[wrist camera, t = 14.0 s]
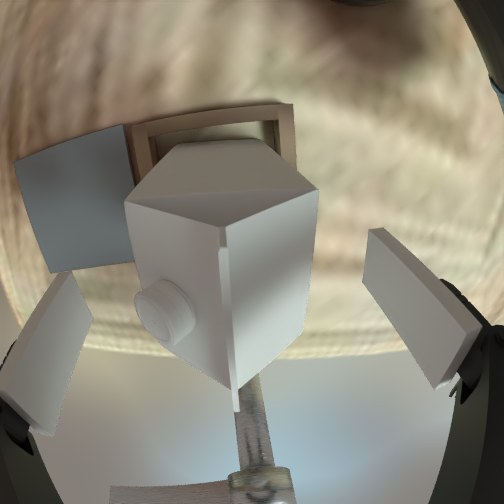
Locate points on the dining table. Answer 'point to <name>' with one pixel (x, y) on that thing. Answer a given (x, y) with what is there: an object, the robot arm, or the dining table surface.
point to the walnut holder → (275, 112)
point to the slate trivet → (80, 200)
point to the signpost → (239, 483)
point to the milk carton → (223, 255)
